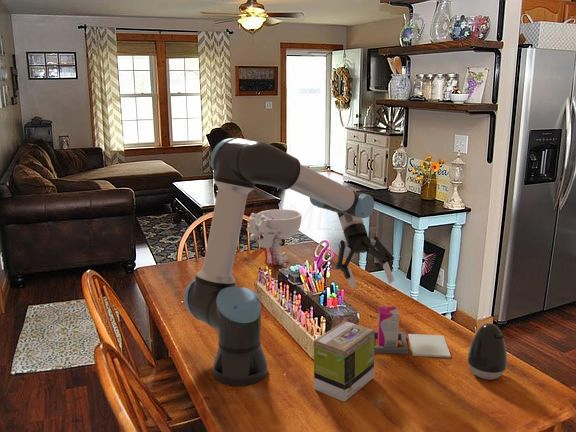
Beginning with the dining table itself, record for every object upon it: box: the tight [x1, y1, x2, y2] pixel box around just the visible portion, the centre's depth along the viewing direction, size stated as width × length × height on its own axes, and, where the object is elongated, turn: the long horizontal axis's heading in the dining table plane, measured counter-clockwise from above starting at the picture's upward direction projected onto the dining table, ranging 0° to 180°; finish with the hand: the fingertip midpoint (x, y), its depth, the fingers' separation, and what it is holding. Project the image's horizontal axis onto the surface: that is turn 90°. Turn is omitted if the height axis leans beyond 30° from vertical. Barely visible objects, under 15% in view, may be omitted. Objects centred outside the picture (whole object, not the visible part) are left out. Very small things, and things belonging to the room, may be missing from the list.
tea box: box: [313, 320, 376, 402], centre depth 141 cm, size 15×10×15 cm, turn 141°
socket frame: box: [374, 330, 409, 355], centre depth 164 cm, size 11×11×2 cm
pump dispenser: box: [467, 322, 508, 381], centre depth 145 cm, size 10×10×15 cm
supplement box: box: [377, 306, 400, 347], centre depth 163 cm, size 6×6×12 cm
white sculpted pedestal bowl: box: [246, 208, 303, 268], centre depth 233 cm, size 25×19×23 cm
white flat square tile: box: [407, 333, 452, 359], centre depth 163 cm, size 13×11×1 cm
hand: (372, 284), depth 171 cm, fingers open, 13 cm apart
